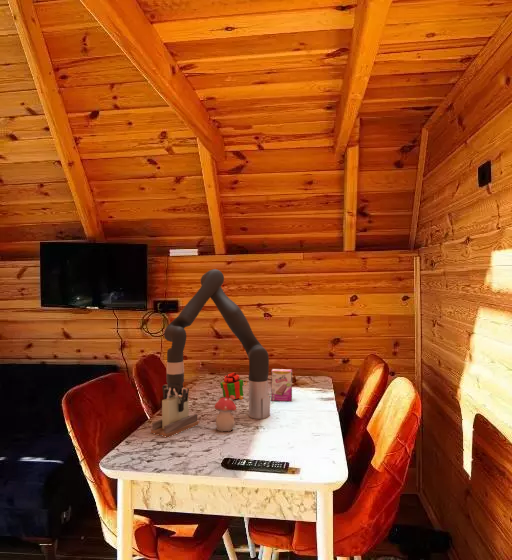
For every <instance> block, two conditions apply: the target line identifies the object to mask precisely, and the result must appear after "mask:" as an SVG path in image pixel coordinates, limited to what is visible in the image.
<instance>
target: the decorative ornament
mask: <svg viewBox="0 0 512 560" xmlns="http://www.w3.org/2000/svg"><path fill="white" fill-rule="evenodd" d="M220 398H221V399H220ZM220 398H219V399H218V400H217V402H215V405H214V410H217V411H219V413H218V414H217V416H216V419H215V425H216V429H218V431H219V430H220V431H219V432H223V431H228V432H231V430H232V431H233V428H234V426H235V419H234V416H233V414H232V412H235V411H236V410H237V406H236V404H235V400H236V399H235V396H234V395H230V398H227V397H224V396H223V397H220Z"/></svg>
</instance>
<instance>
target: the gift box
mask: <svg viewBox="0 0 512 560" xmlns="http://www.w3.org/2000/svg"><path fill="white" fill-rule="evenodd" d="M240 378H241V377H240V375H239V374H237V373H236V372H231V373H228V374H226V375H225V376H224V377H223V379H222V380H223V381H222V382H220V383H219V384H220V385H219V386H220V388H221V390H222V395H223V397H227V398H230V395H234V396H235V399H234V400H237V399H240V400H241V401H242V400H243V398H244V397H243V396H244V388H243V386H244V385H245V386H247V384H248V383H249V380H248V381H247V380H246V381H245V382H244V380H243V379H240ZM247 382H248V383H247ZM221 398H222V397H219V399H221Z"/></svg>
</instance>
